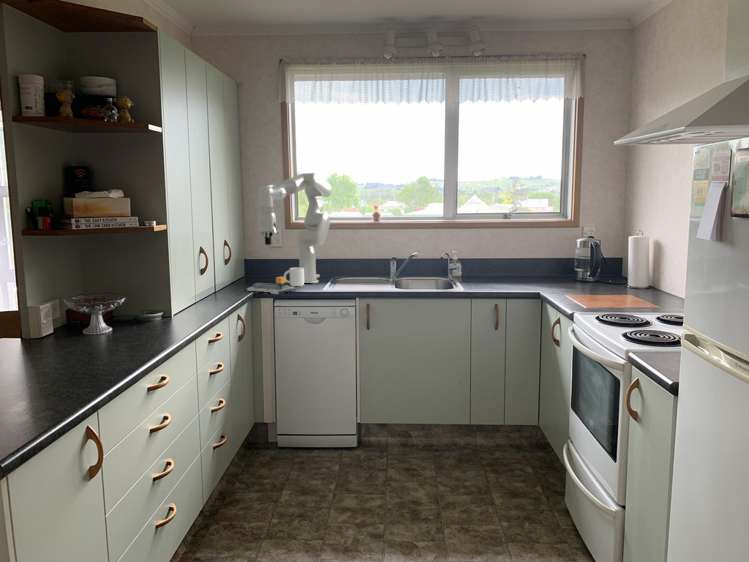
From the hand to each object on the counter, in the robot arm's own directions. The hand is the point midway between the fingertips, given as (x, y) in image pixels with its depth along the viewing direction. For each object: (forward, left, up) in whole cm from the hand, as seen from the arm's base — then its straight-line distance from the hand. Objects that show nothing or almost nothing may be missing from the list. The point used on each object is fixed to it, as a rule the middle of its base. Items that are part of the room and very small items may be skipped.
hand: (268, 244), depth 327 cm
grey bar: (0, +12, -26) cm, 28 cm away
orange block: (0, +8, -23) cm, 25 cm away
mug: (-20, +2, -26) cm, 32 cm away
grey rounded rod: (0, -11, -26) cm, 28 cm away
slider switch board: (0, +1, -26) cm, 26 cm away
